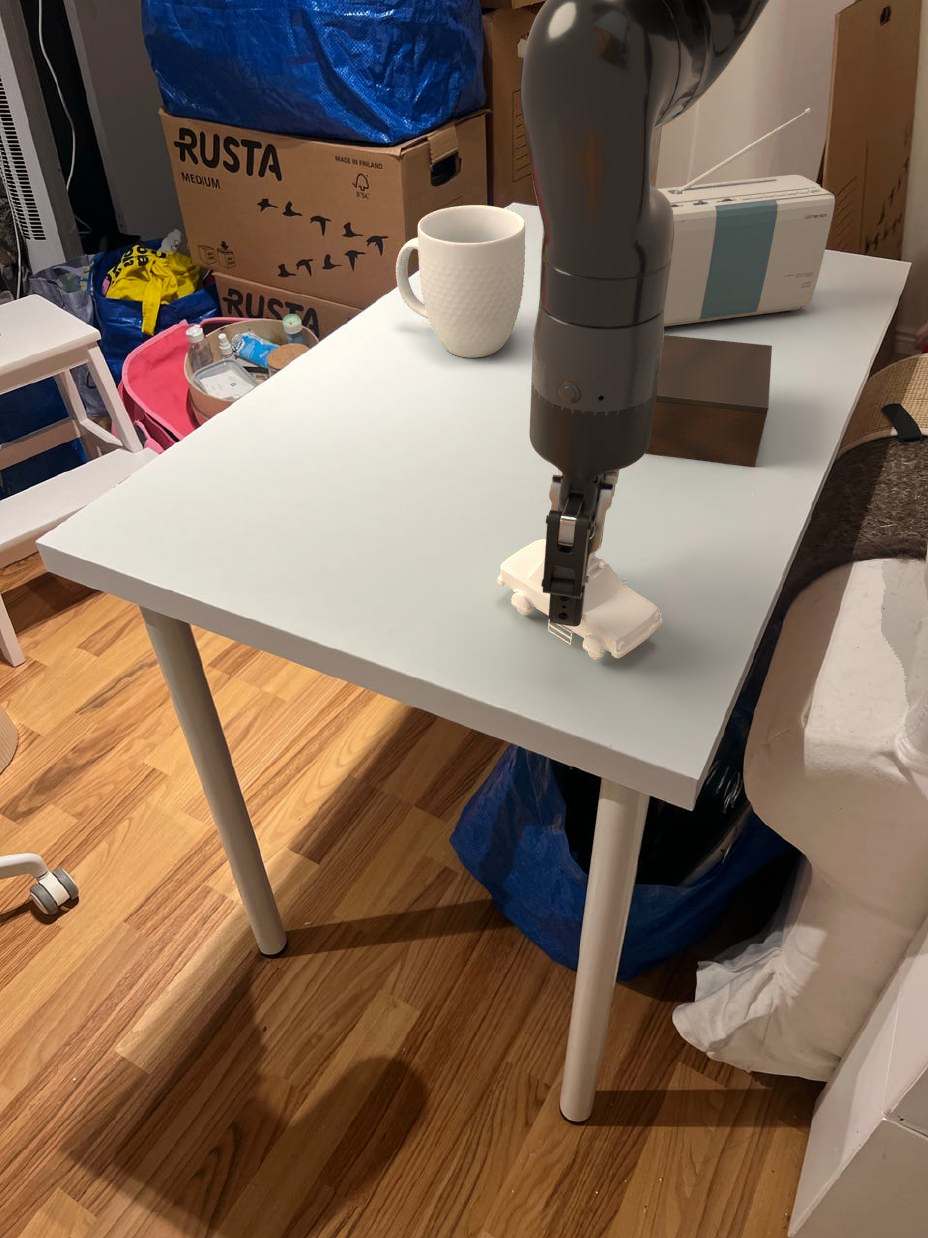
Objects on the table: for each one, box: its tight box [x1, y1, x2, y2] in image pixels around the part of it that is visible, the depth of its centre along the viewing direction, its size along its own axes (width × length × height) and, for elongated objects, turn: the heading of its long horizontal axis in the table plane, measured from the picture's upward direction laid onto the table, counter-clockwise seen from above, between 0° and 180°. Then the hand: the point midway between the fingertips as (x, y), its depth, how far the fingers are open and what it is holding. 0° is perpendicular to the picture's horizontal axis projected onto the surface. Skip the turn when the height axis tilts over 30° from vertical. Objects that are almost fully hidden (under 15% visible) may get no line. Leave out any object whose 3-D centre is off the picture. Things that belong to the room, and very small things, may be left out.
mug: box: [395, 204, 526, 359], centre depth 97 cm, size 15×11×13 cm
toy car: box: [497, 538, 663, 661], centre depth 65 cm, size 6×12×7 cm, turn 44°
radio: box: [657, 107, 836, 328], centre depth 99 cm, size 21×8×20 cm, turn 104°
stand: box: [645, 334, 773, 468], centre depth 86 cm, size 14×12×6 cm
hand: (576, 582), depth 65 cm, fingers open, 8 cm apart
